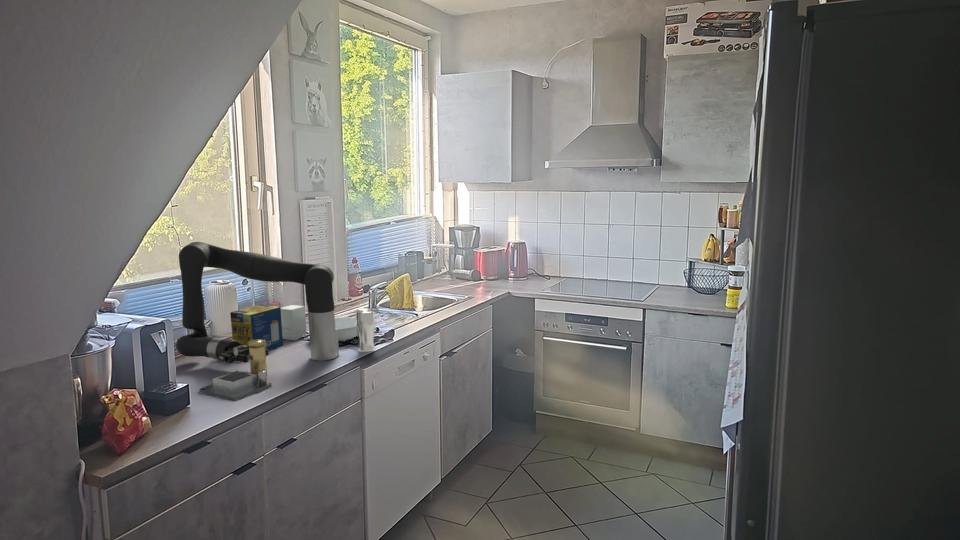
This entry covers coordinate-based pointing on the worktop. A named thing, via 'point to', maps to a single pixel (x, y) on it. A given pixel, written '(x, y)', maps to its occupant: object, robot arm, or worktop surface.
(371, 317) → the beer glass
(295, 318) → the supplement box
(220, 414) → the worktop surface
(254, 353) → the gold metal cylinder
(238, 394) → the socket plate
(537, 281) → the worktop surface
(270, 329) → the protein box
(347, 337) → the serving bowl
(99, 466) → the worktop surface
